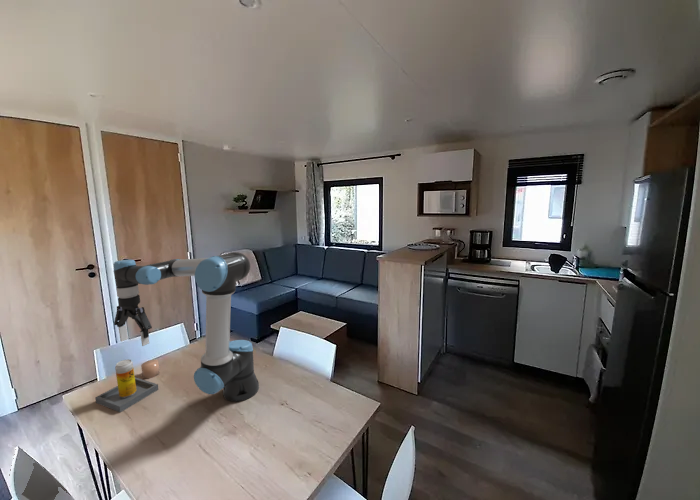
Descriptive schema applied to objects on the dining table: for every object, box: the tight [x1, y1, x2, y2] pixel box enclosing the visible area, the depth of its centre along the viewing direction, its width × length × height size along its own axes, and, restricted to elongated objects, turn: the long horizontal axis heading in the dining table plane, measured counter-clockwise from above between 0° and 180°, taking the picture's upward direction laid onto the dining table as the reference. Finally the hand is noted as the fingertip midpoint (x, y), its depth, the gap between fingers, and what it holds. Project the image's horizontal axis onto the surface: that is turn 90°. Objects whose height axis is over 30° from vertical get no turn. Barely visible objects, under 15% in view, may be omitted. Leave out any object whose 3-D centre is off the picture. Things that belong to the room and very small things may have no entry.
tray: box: [95, 376, 160, 413], centre depth 129 cm, size 16×16×3 cm
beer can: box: [114, 359, 136, 398], centre depth 128 cm, size 6×6×15 cm
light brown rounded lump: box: [140, 359, 160, 380], centre depth 145 cm, size 7×7×6 cm
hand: (134, 342), depth 129 cm, fingers open, 13 cm apart
